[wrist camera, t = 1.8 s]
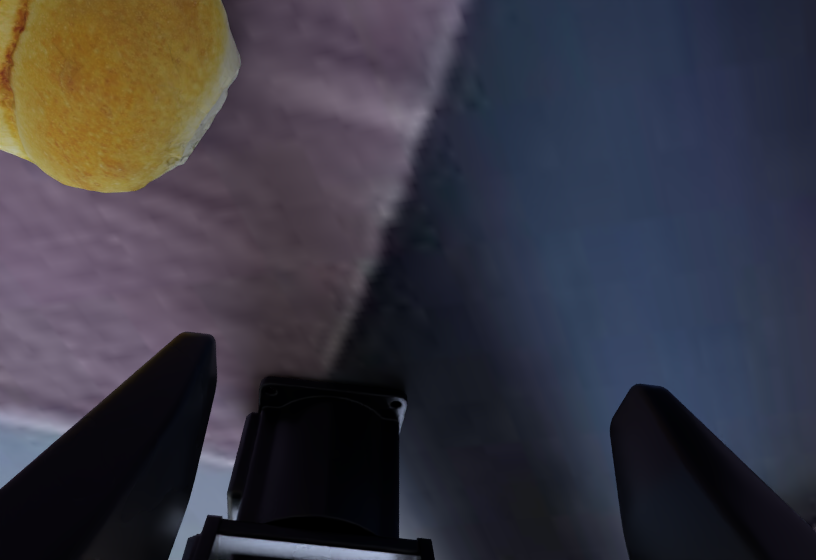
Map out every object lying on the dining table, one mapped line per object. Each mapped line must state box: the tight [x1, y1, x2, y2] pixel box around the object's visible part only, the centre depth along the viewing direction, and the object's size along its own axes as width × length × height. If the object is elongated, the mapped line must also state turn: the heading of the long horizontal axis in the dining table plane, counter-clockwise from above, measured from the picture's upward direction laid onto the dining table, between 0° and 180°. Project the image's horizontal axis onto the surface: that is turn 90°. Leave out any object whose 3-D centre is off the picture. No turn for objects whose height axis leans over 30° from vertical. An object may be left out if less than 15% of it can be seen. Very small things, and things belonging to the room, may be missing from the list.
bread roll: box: [0, 0, 241, 193], centre depth 15 cm, size 8×9×4 cm
